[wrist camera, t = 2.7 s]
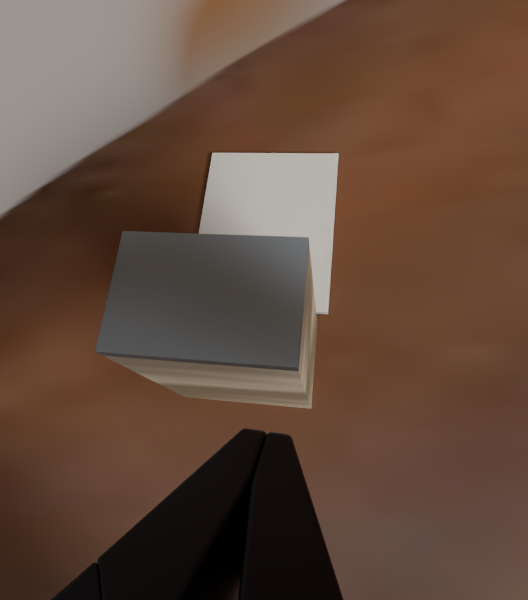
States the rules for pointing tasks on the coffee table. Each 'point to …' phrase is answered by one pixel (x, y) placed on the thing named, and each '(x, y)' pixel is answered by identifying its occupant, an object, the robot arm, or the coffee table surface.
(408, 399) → the coffee table surface
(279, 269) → the birch block
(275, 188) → the mat
